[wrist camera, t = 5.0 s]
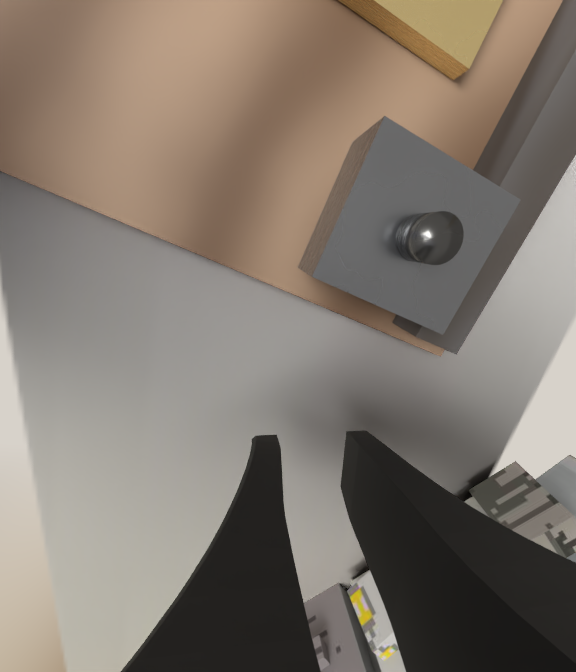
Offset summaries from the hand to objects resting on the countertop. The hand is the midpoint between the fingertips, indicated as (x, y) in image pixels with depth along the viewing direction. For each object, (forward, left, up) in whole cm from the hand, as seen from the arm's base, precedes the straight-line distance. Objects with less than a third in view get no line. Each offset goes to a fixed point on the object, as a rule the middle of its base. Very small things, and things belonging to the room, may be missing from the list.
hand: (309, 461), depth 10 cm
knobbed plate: (0, +7, -3) cm, 8 cm away
